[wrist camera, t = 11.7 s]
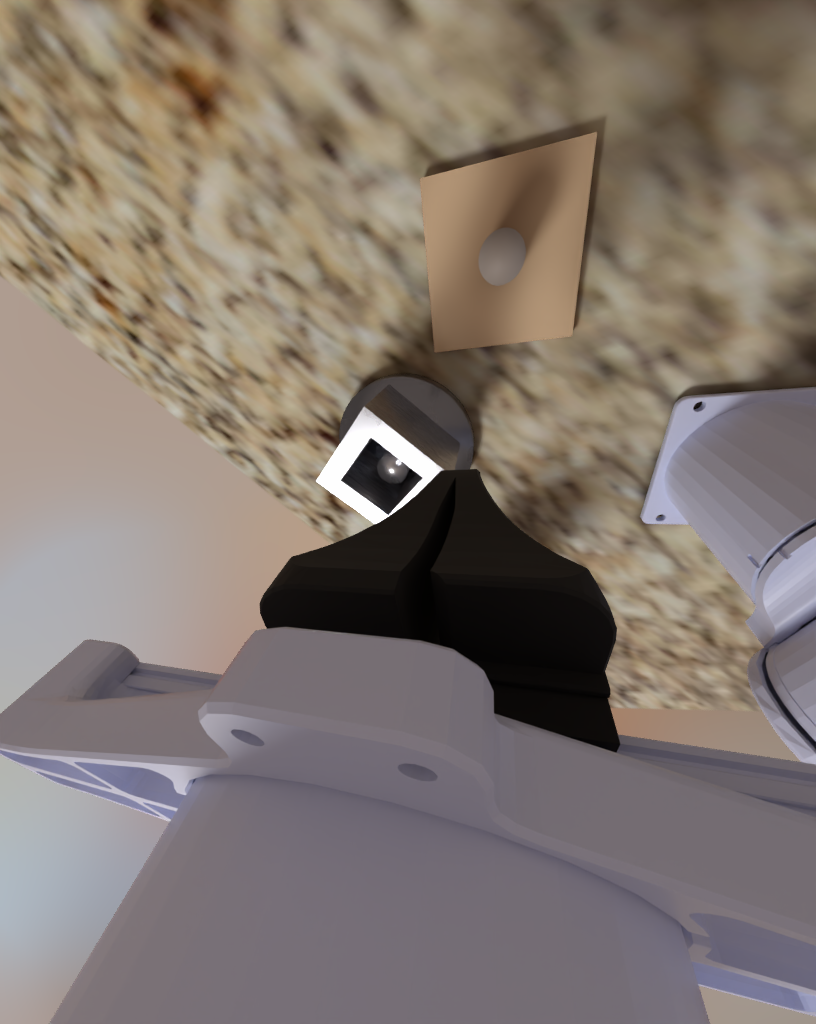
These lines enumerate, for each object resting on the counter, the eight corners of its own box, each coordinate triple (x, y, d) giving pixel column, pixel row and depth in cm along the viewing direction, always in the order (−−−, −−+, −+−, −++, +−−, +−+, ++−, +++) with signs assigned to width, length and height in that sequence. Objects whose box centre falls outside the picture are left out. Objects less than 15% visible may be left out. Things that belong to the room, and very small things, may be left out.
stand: (593, 137, 13) (621, 93, 10) (570, 334, 17) (585, 344, 14) (422, 182, 15) (404, 156, 12) (436, 351, 18) (424, 362, 16)
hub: (472, 365, 19) (467, 382, 15) (475, 499, 23) (472, 533, 20) (330, 381, 21) (300, 398, 18) (360, 499, 26) (340, 529, 22)
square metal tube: (389, 384, 19) (363, 406, 16) (460, 443, 20) (452, 477, 17) (345, 450, 22) (316, 481, 19) (408, 498, 23) (392, 536, 20)
